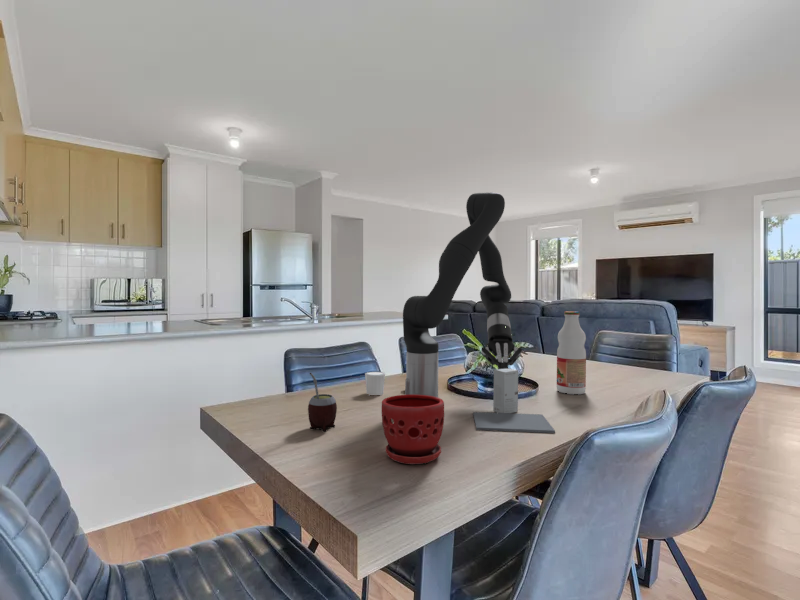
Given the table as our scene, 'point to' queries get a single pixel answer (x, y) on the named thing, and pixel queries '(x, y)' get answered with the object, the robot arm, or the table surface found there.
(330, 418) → the mate gourd
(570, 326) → the fruit juice
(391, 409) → the plant pot
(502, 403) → the skincare box
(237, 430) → the table surface
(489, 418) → the slate mat
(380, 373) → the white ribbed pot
